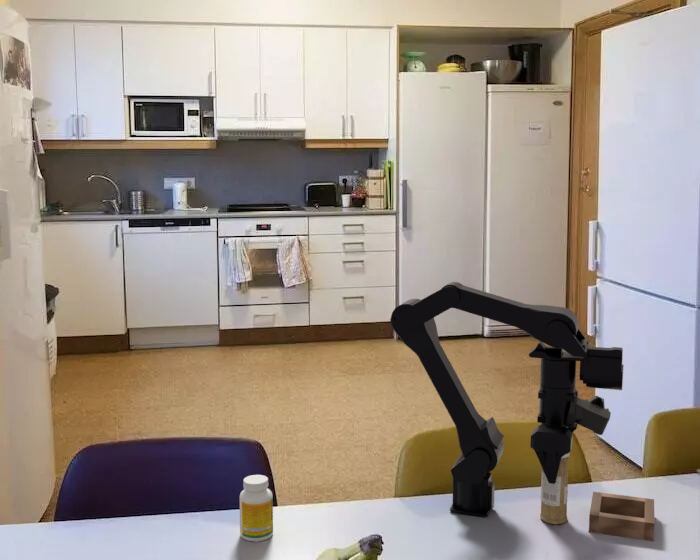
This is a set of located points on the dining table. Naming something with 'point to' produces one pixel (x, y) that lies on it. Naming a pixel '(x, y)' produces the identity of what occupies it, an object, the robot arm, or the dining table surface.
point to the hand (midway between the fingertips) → (554, 474)
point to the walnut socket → (622, 516)
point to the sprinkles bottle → (555, 495)
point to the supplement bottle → (256, 509)
